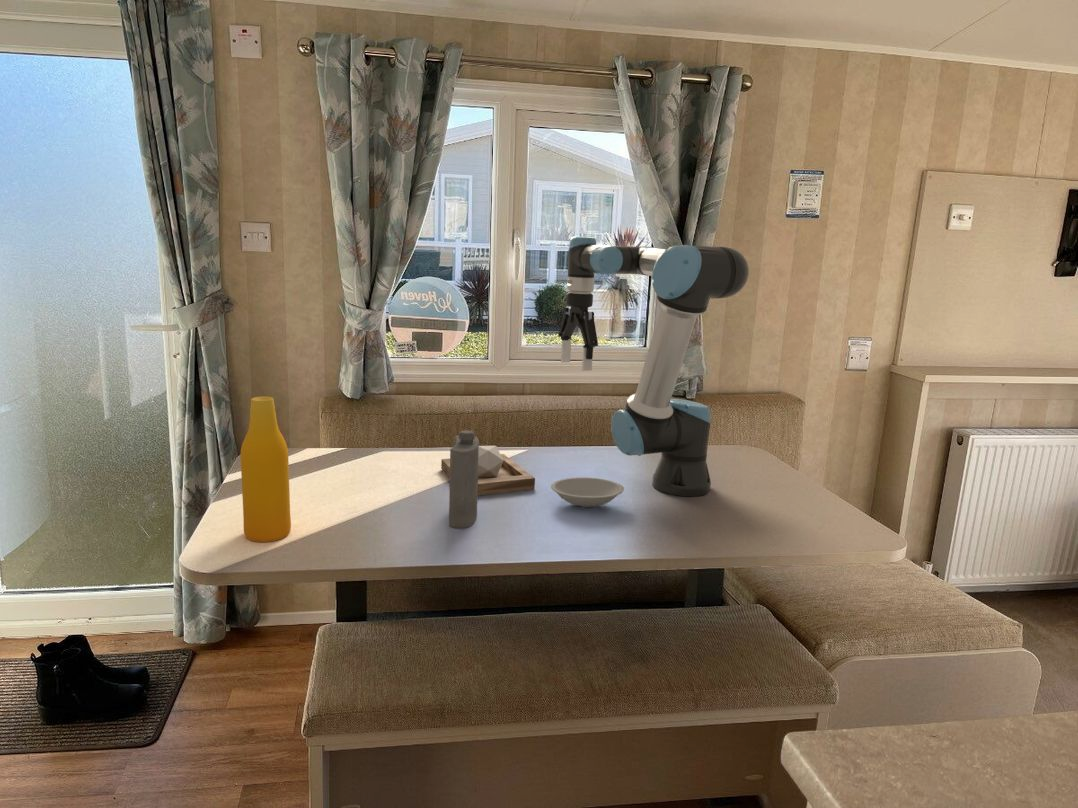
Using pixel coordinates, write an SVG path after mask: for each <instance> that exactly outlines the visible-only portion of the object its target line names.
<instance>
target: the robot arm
mask: <svg viewBox="0 0 1078 808" xmlns="http://www.w3.org/2000/svg"><path fill="white" fill-rule="evenodd" d="M567 260H568V262H567V280H566V285H567V286H566V287H567V288H566V289H567V290H566V291H568V292H567V293H566V298H565V299H566V302H565V304H566V306H564V311H563V316H562V320H561V324H560V327H559V331H558V334H557V336H558V337H559V338H560V340H561V352H560V353H561V354H560V362H561V363H570V362H571V353H572V352H571V351H572V335H573V333H574V331H575V329H576V327H577V328H579V331H580V334H581V337H582V340H583V344H584V345H583V346H582V362H581V363H582V367H581V371H592V370H593V358H594V355H593V354H594V348H595V347H598V346H599V341H598V335H597V330H596V329H597V328H596V323H595V312H594V311H589V308H592V306H593V305H594V304H593V303H594V295H593V292H594V289H595V288H594V287H595V274H600V275H615V274H616V275H621V274H622V275H628V274H629V275H640V276H645V277H646V276H648V277H649V276H650V277H651V279H652V283H651V284H652V288H653V290H654V292H655V294H656V300H657V302H658V304H659V305H660V309H659V312H658V315H657V319H656V322H655V326H654V329H653V332H652V336H651V339H650V342H649V346H648V350H647V353H646V357H645V360H644V364H643V367H642V371H641V374H640V377H639V380H638V381H639V382H638V384H637V388H636V391H635V393H633V394H630V395H629V396H628V397H627V400H626V404H625V407H624V409H623V408H620V409H618V410H617V411H615V412H614V413H613V415H612V417H611V424H610V425H611V426H610V427H611V434H612V439H613V441H614V444H615V446H616V447H617V449H618V450H619V451H620V452H621V453H622V454H624V455H625V456H629V457H631V456H639V457H640V456H643V455H651V454H659V453H660V454H661V456H660V459H659V460H658V464H657V466H656V469H655V471H654V473H653V474H652V482H651V484H652V487H653V488H654V489H656V490H658V491H660V492H661V493H665V494H669V495H673V496H680V497H699V496H704V495H707V494H709V493H710V491H711V485H712V481H711V477H710V472H709V468H708V464H707V463H708V462H707V456H708V446H709V445H708V444H709V437H710V436H709V435H710V430H711V429H710V428H711V427H710V426H711V409H710V407H708V406H707V405H705V404H703V403H700V402H697V401H692V400H687V399H680V398H672V397H673V393H674V391H675V387H676V385H677V381H678V378H679V374H680V371H681V368H682V365H683V362H684V359H685V356H686V352H687V349H688V347H689V344H690V340H691V337H692V334H693V331H694V328H695V324H696V321H697V318H698V317H699V316H700V315H701V316H702V314H705V313H706V312H707V309H708V306H709V303H710V301H711V299H713V300H714V299H726V298H729V297H732V296H734V295H737V294H738V293H739V292H741V290H743V288H744V287H745V286H746V283H747V282H748V280H749V279H748V278H749V275H750V271H749V264H748V261H747V259H746V258H745V257H744V255H743V254H742V252H740V251H738V250H736V249H734V248H731V247H727V246H707V245H706V246H705V245H692V244H683V245H673V246H670V247H668V248H660V247H659V248H658V247H653V246H631V245H630V246H627V245H610V244H609V245H608V244H597V239H596V238H595V237H592V236H591V237H590V236H571V238H570V239H569V246H568V259H567Z"/></svg>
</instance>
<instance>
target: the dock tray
mask: <svg viewBox="0 0 1078 808" xmlns="http://www.w3.org/2000/svg"><path fill="white" fill-rule="evenodd" d="M500 454H501V456H502V458H503V460H504V461H503V463H502V466H501V468H500V470H499V473H498V475H497V477H478V495H477V496H485V495H495V494H502V493H512V492H514V493H515V492H523V491H530V490H535V488H536V478H535V477H534V476H533V475H532V474H531V473H529V471H526V470H525V469H524V468H523V467H521V466H520V465H519V464H517V463H516V462H515V461H513V460H512V459H511V458H510V457H508V456H507V455H505V454H504V453H500ZM440 469H442V470H441V471H442V473H444V474H445V475H446V476H447V477H448V479H450V457H449V458H441V465H440Z"/></svg>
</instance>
